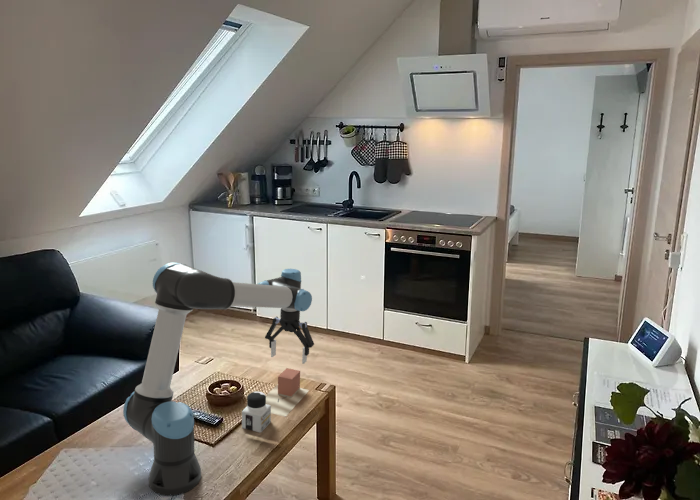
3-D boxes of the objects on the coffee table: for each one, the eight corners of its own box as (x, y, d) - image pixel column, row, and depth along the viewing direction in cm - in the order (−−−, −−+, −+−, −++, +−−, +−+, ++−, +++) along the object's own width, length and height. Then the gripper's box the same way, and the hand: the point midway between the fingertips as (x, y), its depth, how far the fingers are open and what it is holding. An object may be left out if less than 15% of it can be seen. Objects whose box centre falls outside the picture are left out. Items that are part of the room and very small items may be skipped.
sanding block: (291, 397, 212) (291, 379, 210) (277, 394, 214) (278, 376, 212) (299, 388, 220) (300, 370, 218) (286, 385, 221) (286, 368, 219)
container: (260, 435, 188) (261, 401, 185) (241, 430, 191) (241, 397, 188) (271, 424, 195) (271, 391, 192) (252, 419, 198) (252, 387, 195)
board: (285, 419, 199) (285, 416, 199) (252, 411, 203) (252, 408, 203) (309, 392, 219) (309, 389, 219) (278, 385, 224) (278, 383, 223)
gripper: (323, 310, 208) (321, 361, 212) (266, 300, 215) (265, 349, 220) (316, 316, 201) (313, 368, 205) (257, 306, 208) (256, 356, 213)
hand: (288, 359), depth 213 cm, fingers open, 13 cm apart
